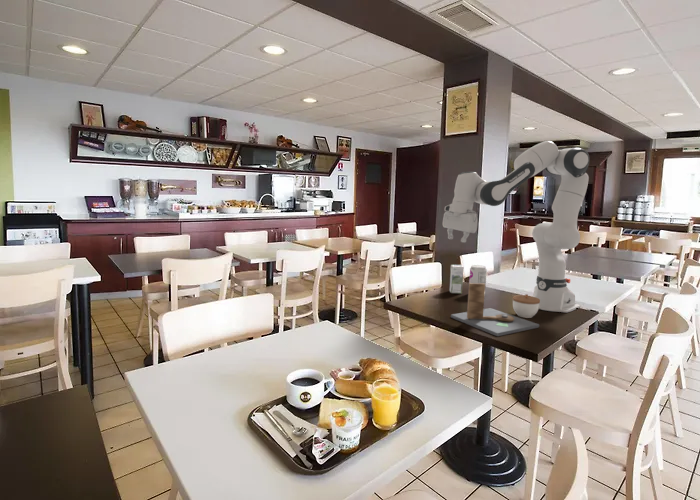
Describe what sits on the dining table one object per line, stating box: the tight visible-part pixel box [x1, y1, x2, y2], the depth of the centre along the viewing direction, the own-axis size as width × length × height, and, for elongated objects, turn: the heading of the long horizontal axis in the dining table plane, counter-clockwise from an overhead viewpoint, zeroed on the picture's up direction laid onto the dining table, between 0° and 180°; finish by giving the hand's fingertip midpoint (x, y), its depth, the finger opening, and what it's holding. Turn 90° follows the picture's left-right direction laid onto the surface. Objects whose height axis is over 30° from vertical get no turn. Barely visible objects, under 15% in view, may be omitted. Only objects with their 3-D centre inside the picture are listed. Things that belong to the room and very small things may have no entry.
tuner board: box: [450, 307, 540, 337], centre depth 166 cm, size 23×25×3 cm
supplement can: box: [468, 264, 488, 296], centre depth 209 cm, size 8×8×15 cm
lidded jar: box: [512, 293, 540, 319], centre depth 175 cm, size 11×11×9 cm
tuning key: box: [466, 282, 514, 322], centre depth 165 cm, size 18×7×14 cm, turn 88°
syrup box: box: [449, 264, 464, 295], centre depth 214 cm, size 6×6×14 cm
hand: (456, 240), depth 178 cm, fingers open, 8 cm apart
